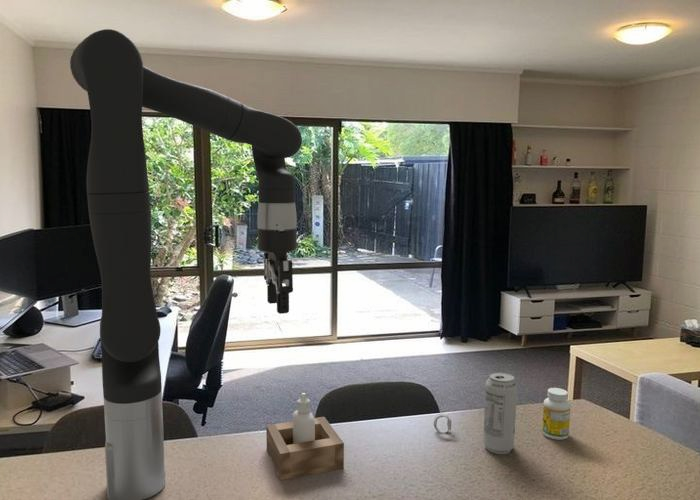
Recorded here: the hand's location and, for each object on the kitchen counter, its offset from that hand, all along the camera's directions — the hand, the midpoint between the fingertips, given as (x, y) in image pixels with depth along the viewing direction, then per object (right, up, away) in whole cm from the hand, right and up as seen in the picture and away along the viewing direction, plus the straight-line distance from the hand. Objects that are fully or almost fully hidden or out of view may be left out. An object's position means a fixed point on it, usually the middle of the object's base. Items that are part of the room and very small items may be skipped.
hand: (277, 307), depth 110 cm
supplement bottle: (+58, -28, +8) cm, 65 cm away
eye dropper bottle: (+5, -28, -3) cm, 29 cm away
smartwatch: (+34, -28, +9) cm, 45 cm away
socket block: (+5, -29, -3) cm, 29 cm away
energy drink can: (+44, -29, +2) cm, 53 cm away
